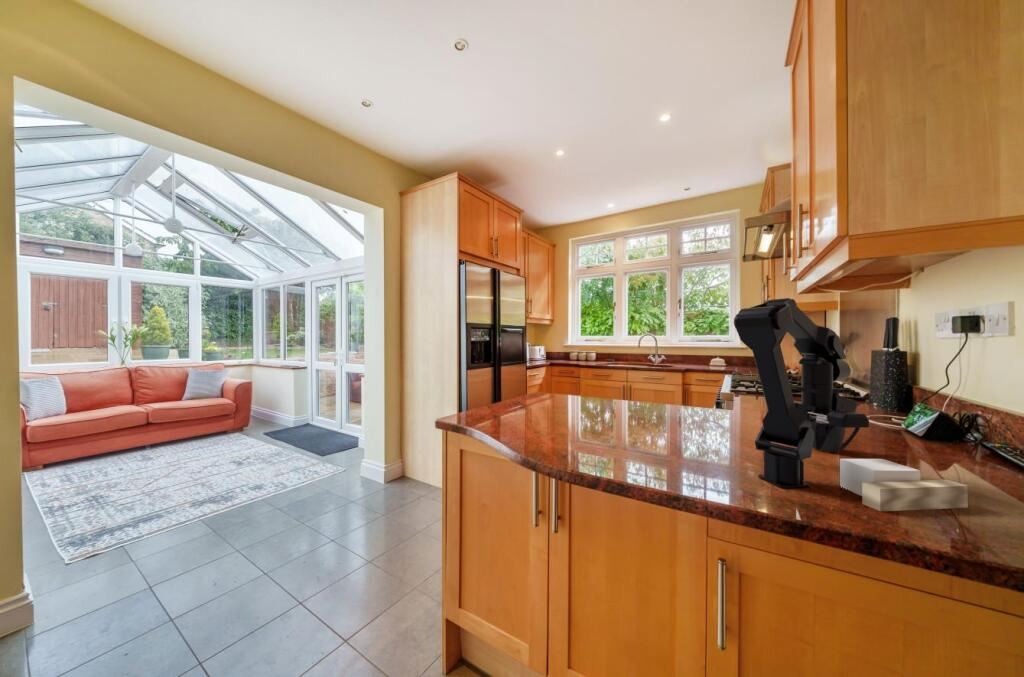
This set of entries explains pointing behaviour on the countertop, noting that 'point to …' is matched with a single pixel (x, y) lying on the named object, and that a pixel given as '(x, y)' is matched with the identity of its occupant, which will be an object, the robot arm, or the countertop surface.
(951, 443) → the countertop surface
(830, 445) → the mug
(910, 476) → the block
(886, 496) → the board
